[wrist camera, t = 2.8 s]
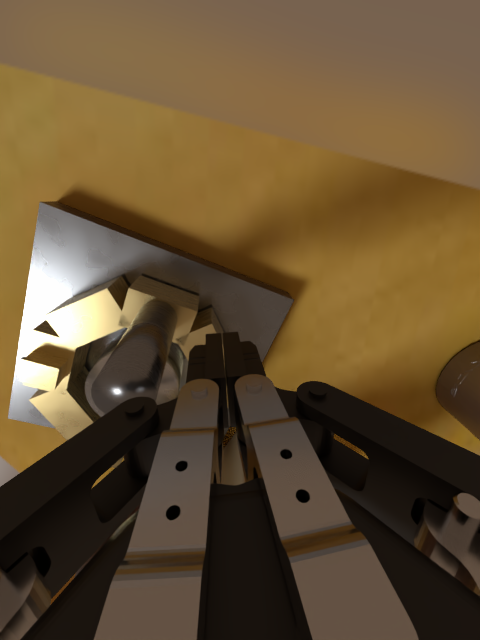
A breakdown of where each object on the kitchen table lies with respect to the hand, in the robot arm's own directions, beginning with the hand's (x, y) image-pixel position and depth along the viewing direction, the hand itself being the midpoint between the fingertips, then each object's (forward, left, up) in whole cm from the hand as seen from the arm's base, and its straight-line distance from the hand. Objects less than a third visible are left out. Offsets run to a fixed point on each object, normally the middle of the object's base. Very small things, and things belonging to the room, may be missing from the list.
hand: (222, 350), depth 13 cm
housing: (+3, +7, -11) cm, 13 cm away
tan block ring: (+3, +7, -8) cm, 12 cm away
